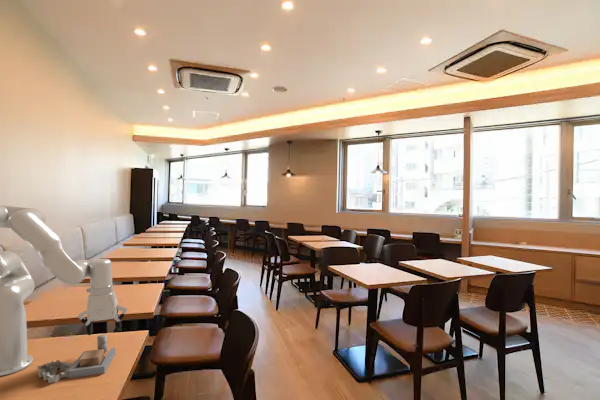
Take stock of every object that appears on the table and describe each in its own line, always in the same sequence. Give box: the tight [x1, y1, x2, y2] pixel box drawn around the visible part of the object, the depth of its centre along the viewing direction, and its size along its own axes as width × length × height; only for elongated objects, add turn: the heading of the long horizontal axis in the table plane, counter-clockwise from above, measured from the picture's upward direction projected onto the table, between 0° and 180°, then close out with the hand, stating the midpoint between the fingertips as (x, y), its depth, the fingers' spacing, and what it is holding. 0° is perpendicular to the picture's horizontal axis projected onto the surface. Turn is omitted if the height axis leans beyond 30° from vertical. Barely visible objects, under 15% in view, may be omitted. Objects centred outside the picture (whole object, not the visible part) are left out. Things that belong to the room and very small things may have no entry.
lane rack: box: [68, 347, 116, 379], centre depth 118 cm, size 11×14×2 cm
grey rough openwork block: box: [37, 359, 74, 384], centre depth 111 cm, size 11×8×4 cm
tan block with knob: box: [80, 333, 108, 367], centre depth 121 cm, size 6×16×6 cm, turn 16°
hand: (104, 331), depth 127 cm, fingers open, 9 cm apart
